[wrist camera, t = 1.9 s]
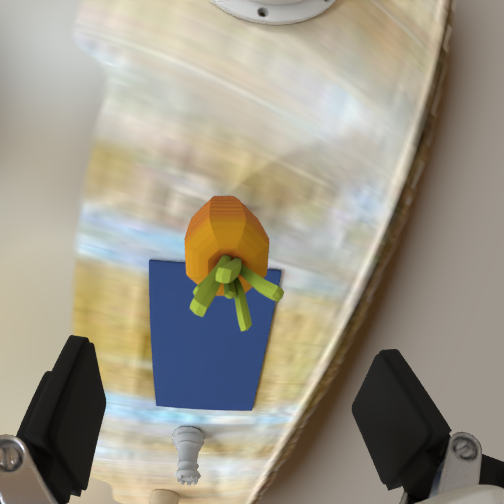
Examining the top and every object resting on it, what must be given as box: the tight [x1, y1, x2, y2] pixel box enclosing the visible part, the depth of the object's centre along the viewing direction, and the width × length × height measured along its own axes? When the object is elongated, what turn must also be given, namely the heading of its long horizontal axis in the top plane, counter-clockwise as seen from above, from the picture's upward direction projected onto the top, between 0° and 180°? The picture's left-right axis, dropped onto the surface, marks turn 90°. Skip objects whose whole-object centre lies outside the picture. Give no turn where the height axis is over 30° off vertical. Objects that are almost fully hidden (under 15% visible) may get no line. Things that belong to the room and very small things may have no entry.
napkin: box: [149, 260, 281, 411], centre depth 33 cm, size 20×12×1 cm, turn 172°
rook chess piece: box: [172, 426, 204, 485], centre depth 36 cm, size 4×4×8 cm
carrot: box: [185, 196, 284, 332], centre depth 20 cm, size 5×5×15 cm
